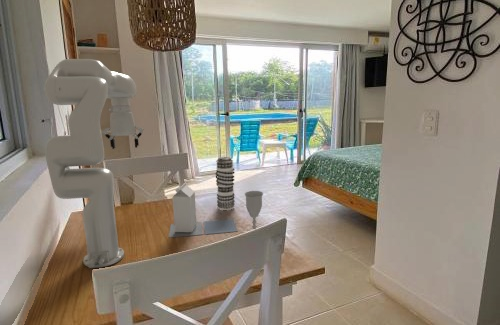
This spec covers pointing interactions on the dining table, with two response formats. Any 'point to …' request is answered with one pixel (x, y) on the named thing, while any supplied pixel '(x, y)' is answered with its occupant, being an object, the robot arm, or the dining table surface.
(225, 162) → the decorative candle
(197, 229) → the tile
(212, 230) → the mat
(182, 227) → the milk carton
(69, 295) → the dining table surface
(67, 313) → the dining table surface
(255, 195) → the chalice
